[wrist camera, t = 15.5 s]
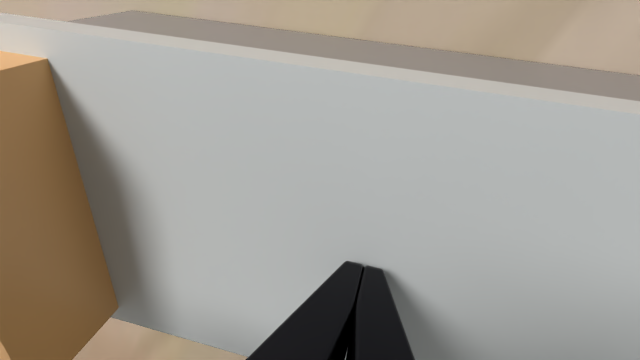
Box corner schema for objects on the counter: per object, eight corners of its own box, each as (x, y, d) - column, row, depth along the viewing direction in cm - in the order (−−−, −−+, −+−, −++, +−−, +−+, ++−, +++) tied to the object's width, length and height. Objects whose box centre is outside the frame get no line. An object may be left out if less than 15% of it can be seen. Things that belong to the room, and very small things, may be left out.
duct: (621, 313, 13) (685, 431, 10) (164, 209, 17) (96, 273, 13) (780, 93, 9) (976, 168, 6) (132, 10, 12) (21, 29, 9)
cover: (684, 453, 10) (803, 684, 7) (92, 288, 13) (-16, 393, 10) (1033, 156, 5) (1875, 429, 2) (2, 12, 9) (-250, 44, 5)
